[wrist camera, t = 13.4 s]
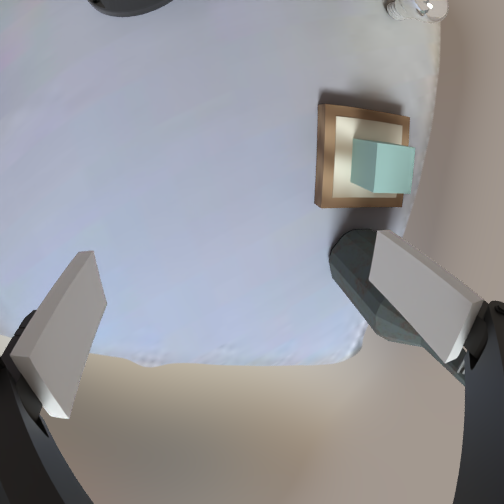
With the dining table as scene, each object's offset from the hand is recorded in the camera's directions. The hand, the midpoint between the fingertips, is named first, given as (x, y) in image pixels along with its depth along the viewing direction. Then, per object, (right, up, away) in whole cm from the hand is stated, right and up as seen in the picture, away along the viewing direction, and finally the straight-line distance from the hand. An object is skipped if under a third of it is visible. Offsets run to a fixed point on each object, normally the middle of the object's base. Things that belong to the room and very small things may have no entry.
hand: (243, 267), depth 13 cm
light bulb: (+22, +38, +17) cm, 47 cm away
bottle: (+17, 0, +33) cm, 37 cm away
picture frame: (+16, +14, +26) cm, 34 cm away
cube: (+17, +13, +24) cm, 32 cm away
